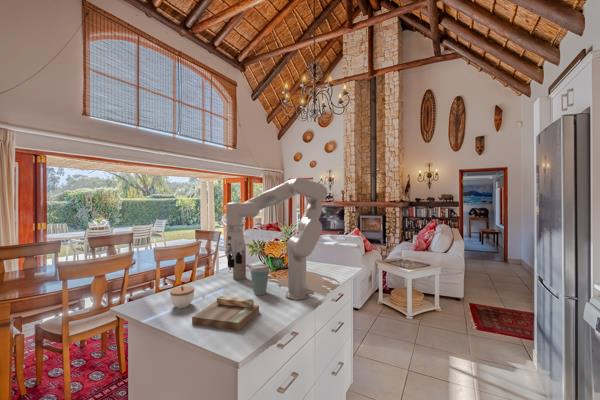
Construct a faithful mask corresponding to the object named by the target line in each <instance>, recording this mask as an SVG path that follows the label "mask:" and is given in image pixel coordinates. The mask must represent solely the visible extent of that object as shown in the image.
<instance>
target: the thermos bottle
mask: <svg viewBox="0 0 600 400" xmlns="http://www.w3.org/2000/svg"><path fill="white" fill-rule="evenodd" d="M246 250H247V249H246V242H245V240H244V250H243V252H242V255H241V256H242V264H236V253H234V258H233V259H234V268H232V279H233V280H234V281H242V280H245V279H246V278H247V275H246V274H247V270H246V269H247V266H246V263H247V262H246V259H247V257H246Z"/></svg>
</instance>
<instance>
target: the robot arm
mask: <svg viewBox="0 0 600 400" xmlns="http://www.w3.org/2000/svg"><path fill="white" fill-rule="evenodd" d="M297 195H300V196H304V197H305V201H306V208H305V211H304V213H303V214H302V216H301V219H300V220H299V222H298V225H297V231H298V232H299V233H300V234H301V235H293V236H290V237H289V239H288V240H287V241H286V242H287V243H286V251H287V265H288V267H287V274H288V277H287V278H288V279H287V280H288V291H286V292H285V297H286V298H287V299H289V300H295V301H299V300H301V301H302V300H305V299H308V298H309V297H310V295H311V296H312V295H313V296H314V295H315V290H314V289H311V288H310V289H309V286H307V258H308V257H309V256H310V255H311V254H312V253H313V251H314V249H315V247H316V246H317V244H318V242H319V240H320V237H321V235H322V232H323V225H322V223H321V221H320V220H319V219H320V217H321V215H322V212H323V203H322V201H324V200H325V199H326V198H327V196H328V189H327V187H326V186H325V185H323V184H321V183H318V182H315V181H313V180H310V179H306V178H303V177H295V178H291V179H288V180H285V181H284V182H282V183H281V184H278V185H277V186H274V187H273V188H271V189H269V190H266V191H264V192H263V193H260V194H258V195H256V196H253V197H252V198H250V199H248V200H246V201H244V202H228V203H227V204H226V206H225V207H226V210H225V211H226V213H225V214H226V239H225V252H224V254H225V257H226V259H227V268H231V269H233V268H234V259H233V258H234V253H236V264H242V256H241V255H242V252H243V250H244V243H245V242H244V241H245V236H244V231H243V230H244V228H243V223H244V222H243V219H244V218H255V217H257V216H258V215H259V214H260V211H261V210H263V209H266V208H268V207H269V208H270V207H272V206H273V207H274V206H277V205H279V204H282V203H283V202H285V201H287V200H289V199H291V198H293V197H295V196H297Z"/></svg>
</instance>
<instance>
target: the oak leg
mask: <svg viewBox="0 0 600 400" xmlns="http://www.w3.org/2000/svg"><path fill="white" fill-rule="evenodd" d="M216 301H217V304H222V305H231V306H239V307H248V308H251V307H252V306H253V305H255V304H254V299H251V298H250V299H249V298H240V297H233V296H224V295H223V296H222V295H220V296H218V297H217V298H216Z"/></svg>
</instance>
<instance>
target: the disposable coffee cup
mask: <svg viewBox="0 0 600 400" xmlns="http://www.w3.org/2000/svg"><path fill="white" fill-rule="evenodd" d="M270 270H271V268H270V265H269V264H256V265H253V266H251V267H250V276H251V282H252V291H253V293H254V295H256V296H257V295H258V296H261V295H265V294H266V292H267V287H268V280H269V274H270Z"/></svg>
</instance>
